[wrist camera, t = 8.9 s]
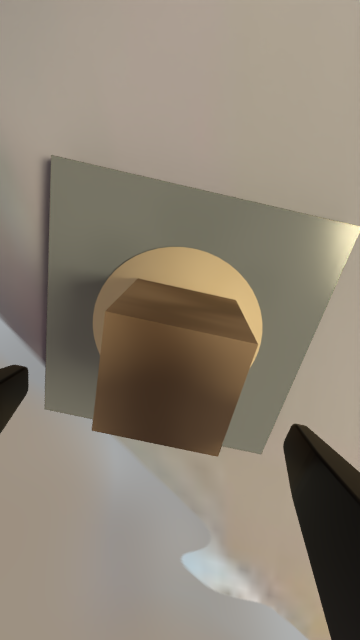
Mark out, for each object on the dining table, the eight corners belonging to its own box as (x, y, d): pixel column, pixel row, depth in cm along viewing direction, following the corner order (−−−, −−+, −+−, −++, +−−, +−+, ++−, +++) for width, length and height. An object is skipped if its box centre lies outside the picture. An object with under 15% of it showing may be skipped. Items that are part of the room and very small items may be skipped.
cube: (235, 299, 13) (258, 344, 8) (210, 382, 15) (217, 456, 10) (137, 278, 13) (105, 311, 8) (124, 363, 15) (91, 430, 10)
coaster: (347, 226, 13) (363, 226, 12) (256, 439, 18) (261, 455, 17) (64, 160, 12) (49, 154, 11) (54, 397, 17) (43, 410, 16)
